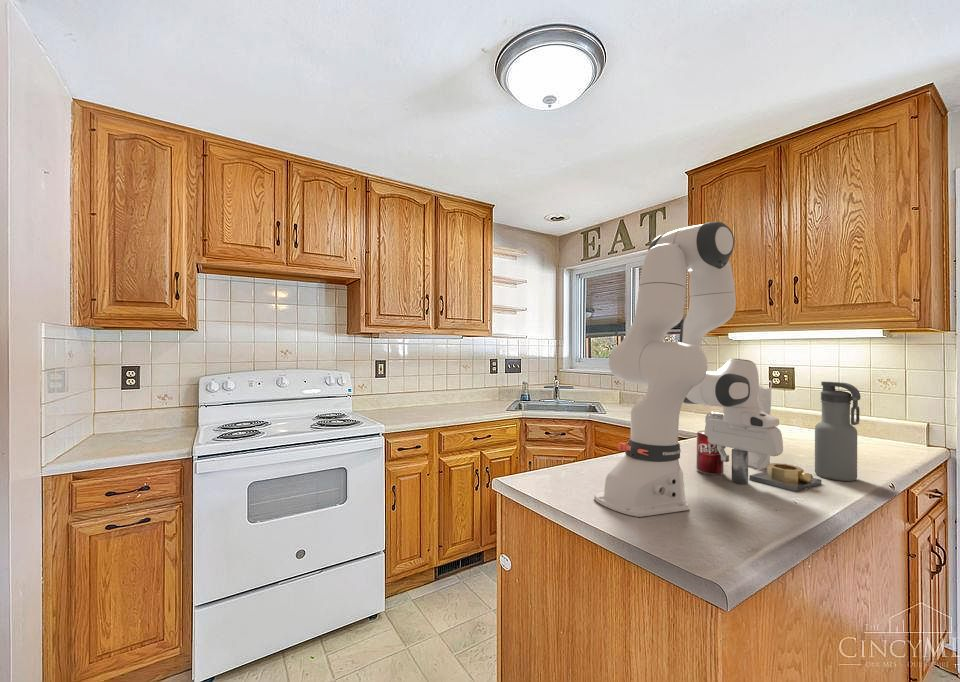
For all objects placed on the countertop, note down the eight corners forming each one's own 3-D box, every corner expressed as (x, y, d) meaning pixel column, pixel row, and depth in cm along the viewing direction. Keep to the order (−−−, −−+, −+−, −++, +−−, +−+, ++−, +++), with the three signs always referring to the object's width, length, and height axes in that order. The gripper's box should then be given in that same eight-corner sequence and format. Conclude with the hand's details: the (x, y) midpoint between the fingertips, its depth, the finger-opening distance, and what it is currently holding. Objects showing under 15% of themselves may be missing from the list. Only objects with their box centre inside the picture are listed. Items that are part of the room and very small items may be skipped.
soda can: (727, 476, 128) (727, 435, 128) (700, 474, 129) (700, 434, 130) (718, 469, 135) (719, 431, 135) (693, 468, 136) (693, 429, 137)
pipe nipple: (743, 485, 120) (743, 452, 120) (728, 481, 123) (728, 449, 123) (751, 483, 122) (751, 450, 122) (736, 479, 125) (736, 447, 125)
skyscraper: (776, 467, 140) (777, 380, 140) (768, 471, 134) (768, 381, 135) (747, 461, 146) (748, 378, 146) (738, 466, 141) (738, 379, 141)
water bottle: (863, 478, 128) (863, 383, 128) (853, 484, 122) (854, 384, 122) (820, 470, 136) (820, 380, 136) (809, 475, 130) (810, 381, 130)
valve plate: (797, 492, 115) (797, 476, 115) (749, 479, 125) (749, 464, 125) (822, 484, 122) (822, 469, 122) (774, 473, 132) (774, 459, 132)
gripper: (699, 412, 130) (699, 458, 130) (773, 422, 113) (773, 476, 113) (711, 410, 134) (712, 455, 133) (785, 420, 116) (786, 472, 116)
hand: (741, 465), depth 123 cm, fingers open, 8 cm apart
